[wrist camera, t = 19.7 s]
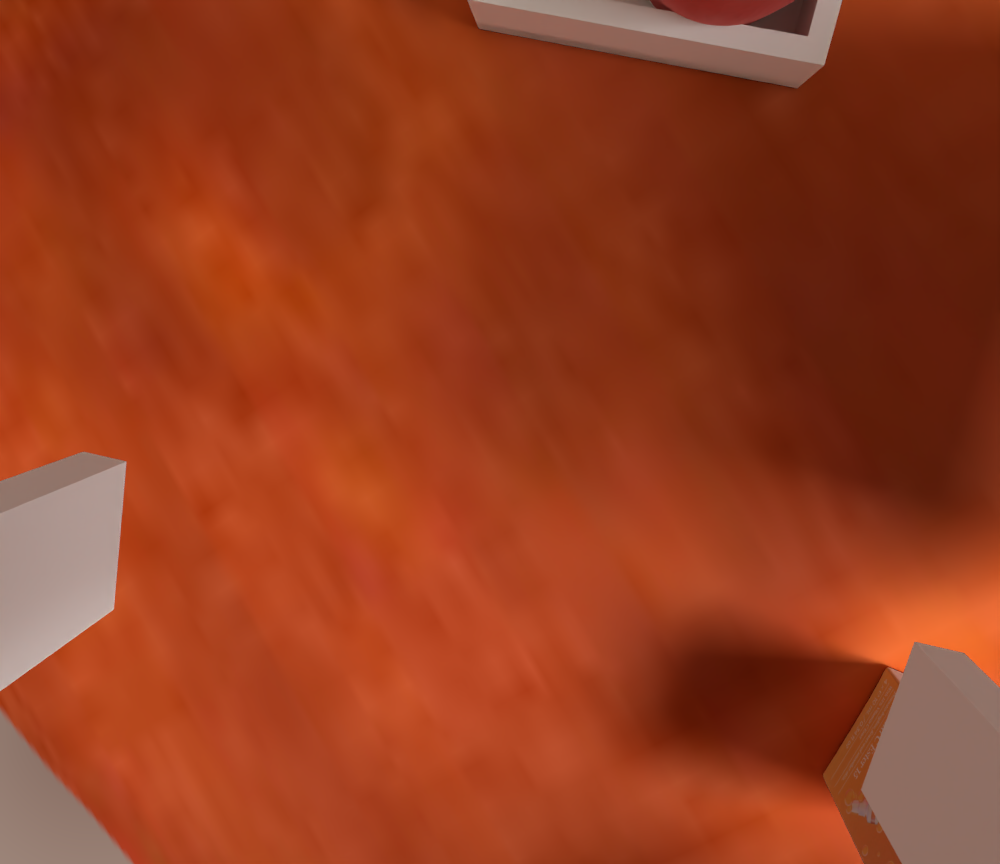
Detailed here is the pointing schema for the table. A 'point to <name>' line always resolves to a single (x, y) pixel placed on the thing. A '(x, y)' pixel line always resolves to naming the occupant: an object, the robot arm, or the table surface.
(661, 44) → the white square tray
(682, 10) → the flower pot
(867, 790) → the robot arm
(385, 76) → the table surface
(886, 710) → the small box
